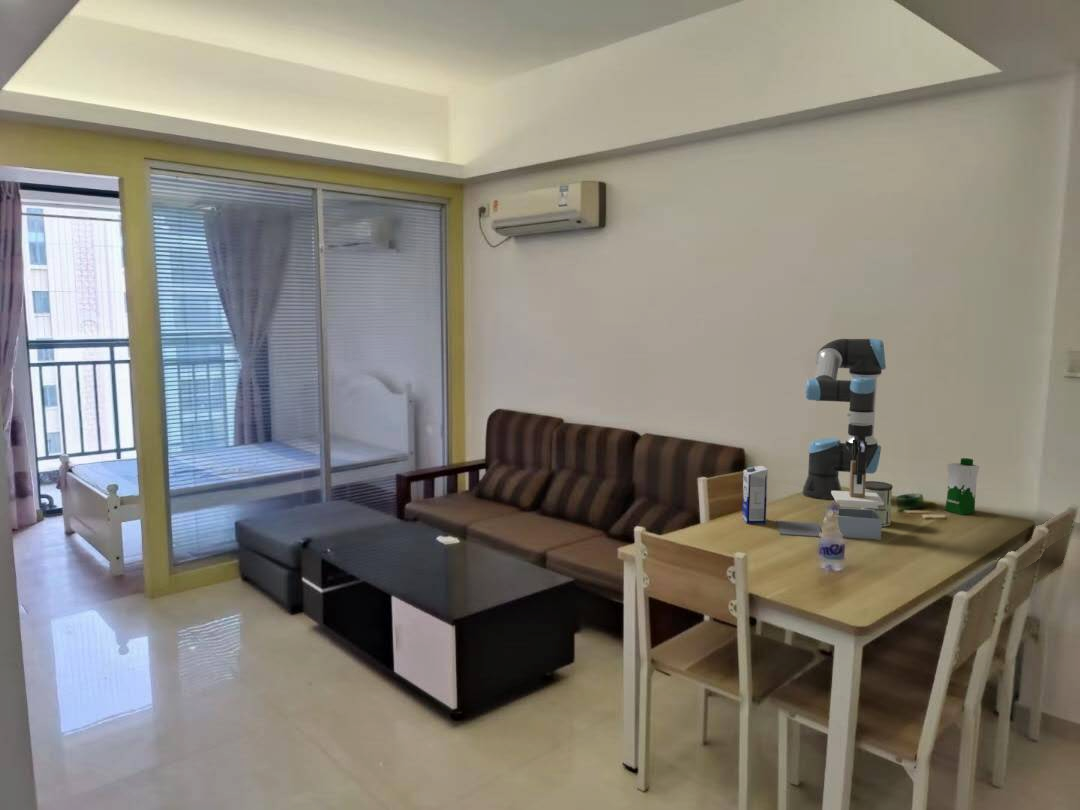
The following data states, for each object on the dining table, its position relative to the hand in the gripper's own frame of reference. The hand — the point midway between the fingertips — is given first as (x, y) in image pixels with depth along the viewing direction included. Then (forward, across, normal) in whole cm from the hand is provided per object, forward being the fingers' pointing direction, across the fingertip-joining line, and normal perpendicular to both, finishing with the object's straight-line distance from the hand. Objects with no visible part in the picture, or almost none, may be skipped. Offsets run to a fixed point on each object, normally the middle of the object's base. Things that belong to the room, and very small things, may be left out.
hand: (857, 491), depth 249 cm
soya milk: (+15, -38, +43) cm, 59 cm away
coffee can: (+15, -14, +9) cm, 23 cm away
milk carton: (+15, -6, -33) cm, 37 cm away
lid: (+4, 0, 0) cm, 4 cm away
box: (+14, 0, 0) cm, 14 cm away
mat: (+14, 0, -18) cm, 23 cm away
